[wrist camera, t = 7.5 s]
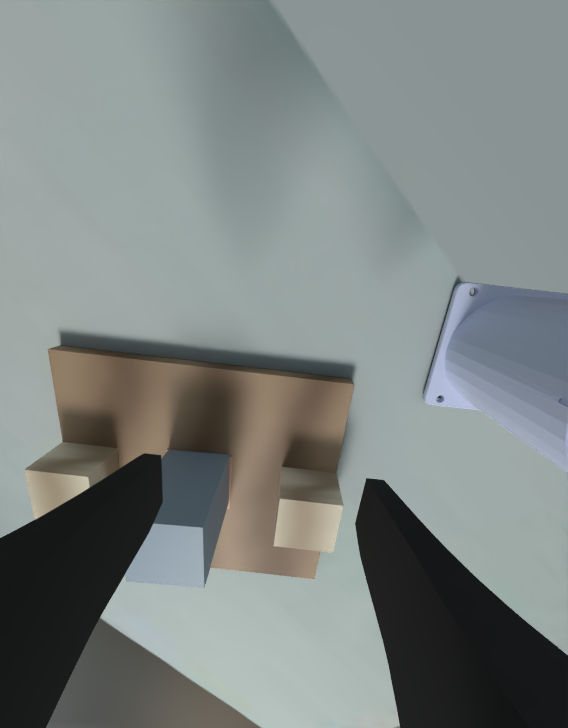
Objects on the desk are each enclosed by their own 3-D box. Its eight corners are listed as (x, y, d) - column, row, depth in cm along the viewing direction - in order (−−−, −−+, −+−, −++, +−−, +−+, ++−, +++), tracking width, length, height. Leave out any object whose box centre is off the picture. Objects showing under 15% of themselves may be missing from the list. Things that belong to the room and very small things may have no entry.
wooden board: (351, 378, 19) (366, 405, 15) (313, 567, 24) (317, 621, 20) (60, 345, 19) (0, 363, 15) (89, 542, 24) (51, 591, 20)
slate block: (229, 454, 20) (202, 527, 14) (228, 503, 21) (204, 587, 15) (168, 449, 20) (117, 520, 14) (171, 498, 21) (126, 581, 15)
